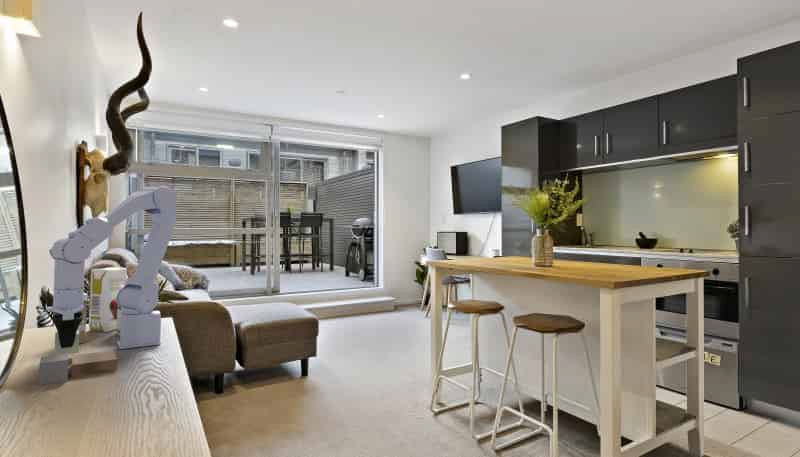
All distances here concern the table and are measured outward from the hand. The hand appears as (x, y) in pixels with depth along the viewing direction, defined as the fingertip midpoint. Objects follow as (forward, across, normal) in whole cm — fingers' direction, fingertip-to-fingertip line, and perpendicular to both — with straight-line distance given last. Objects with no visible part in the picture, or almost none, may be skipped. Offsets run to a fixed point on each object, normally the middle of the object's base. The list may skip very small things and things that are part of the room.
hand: (66, 344), depth 101 cm
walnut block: (+4, +11, +5) cm, 13 cm away
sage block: (+2, 0, 0) cm, 2 cm away
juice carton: (+4, -31, +10) cm, 33 cm away
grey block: (+4, +15, -2) cm, 16 cm away
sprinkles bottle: (+4, -17, +2) cm, 18 cm away
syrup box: (+4, -21, +15) cm, 26 cm away
